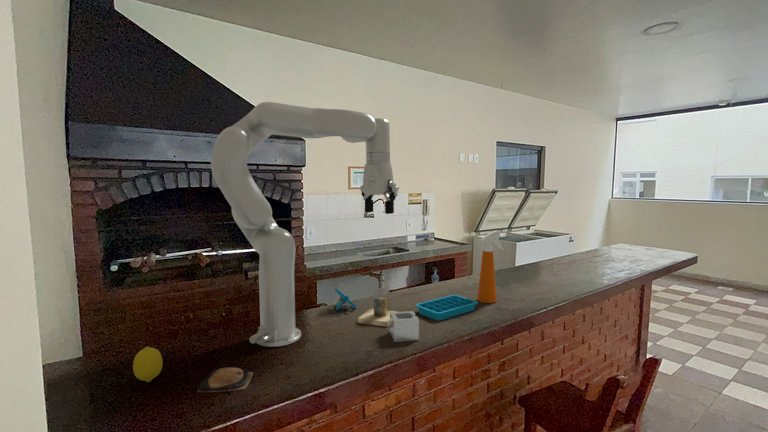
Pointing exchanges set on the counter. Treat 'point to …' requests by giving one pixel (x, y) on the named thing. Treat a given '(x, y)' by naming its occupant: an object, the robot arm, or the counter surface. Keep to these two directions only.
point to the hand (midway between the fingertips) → (379, 212)
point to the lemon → (147, 364)
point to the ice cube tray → (446, 307)
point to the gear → (343, 300)
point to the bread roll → (225, 380)
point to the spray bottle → (488, 269)
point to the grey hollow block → (404, 326)
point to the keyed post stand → (377, 314)
